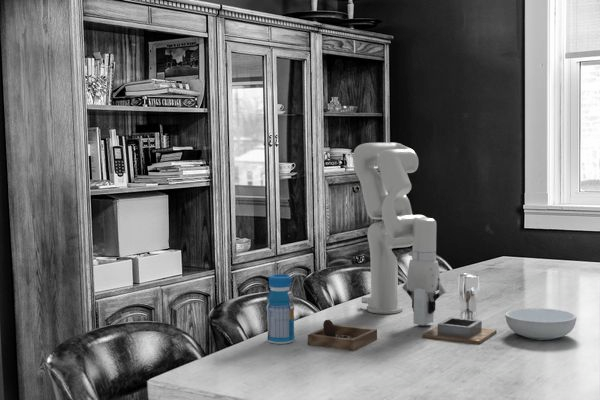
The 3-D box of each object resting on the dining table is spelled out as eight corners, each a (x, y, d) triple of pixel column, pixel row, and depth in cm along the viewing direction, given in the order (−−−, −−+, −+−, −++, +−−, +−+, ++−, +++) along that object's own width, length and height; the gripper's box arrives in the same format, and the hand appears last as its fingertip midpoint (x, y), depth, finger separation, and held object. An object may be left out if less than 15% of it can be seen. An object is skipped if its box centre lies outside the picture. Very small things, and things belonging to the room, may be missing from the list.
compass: (355, 342, 247) (354, 318, 247) (331, 345, 244) (331, 321, 243) (341, 337, 254) (341, 313, 254) (319, 340, 251) (318, 316, 250)
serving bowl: (576, 330, 257) (576, 309, 257) (575, 347, 238) (576, 323, 237) (508, 326, 264) (508, 305, 264) (502, 342, 244) (502, 319, 244)
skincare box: (422, 320, 271) (422, 284, 269) (434, 322, 268) (434, 285, 267) (412, 323, 266) (412, 287, 265) (424, 326, 263) (424, 288, 262)
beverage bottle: (274, 346, 244) (273, 279, 242) (262, 340, 252) (261, 275, 250) (299, 342, 248) (298, 276, 246) (287, 336, 255) (286, 272, 254)
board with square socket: (422, 337, 252) (422, 324, 251) (441, 326, 265) (441, 314, 265) (479, 344, 242) (479, 331, 242) (496, 332, 256) (496, 320, 256)
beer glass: (479, 322, 271) (479, 277, 270) (457, 321, 272) (457, 276, 271) (479, 317, 278) (479, 273, 277) (458, 316, 279) (458, 273, 278)
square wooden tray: (307, 344, 245) (307, 334, 245) (332, 333, 258) (332, 324, 258) (353, 350, 237) (353, 340, 237) (377, 339, 250) (377, 329, 250)
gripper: (395, 255, 266) (394, 311, 268) (444, 260, 257) (444, 317, 259) (404, 252, 272) (404, 306, 274) (453, 256, 263) (452, 312, 265)
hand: (423, 311), depth 266 cm, fingers closed on skincare box, 4 cm apart
